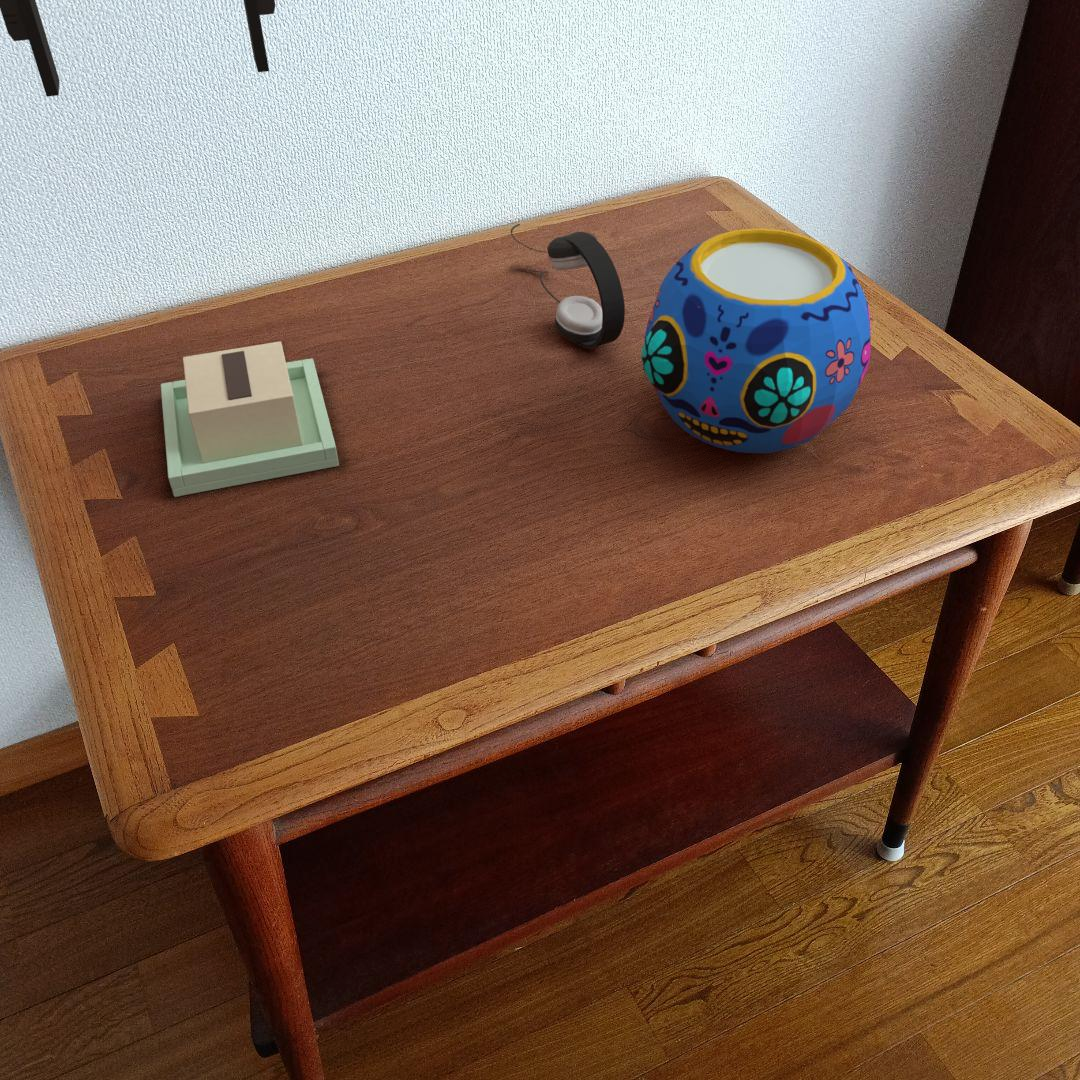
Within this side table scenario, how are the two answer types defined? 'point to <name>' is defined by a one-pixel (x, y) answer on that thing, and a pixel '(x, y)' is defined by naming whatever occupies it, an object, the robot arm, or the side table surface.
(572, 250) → the headphones
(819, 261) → the ceramic pot
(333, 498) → the side table surface
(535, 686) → the side table surface
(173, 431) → the shallow tray
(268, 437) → the beige block
